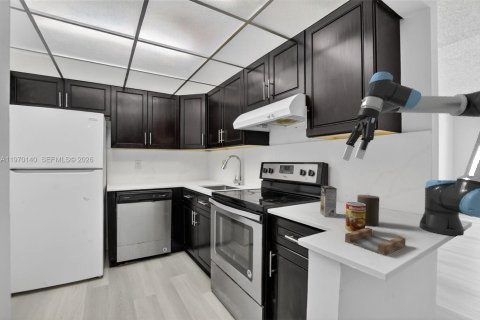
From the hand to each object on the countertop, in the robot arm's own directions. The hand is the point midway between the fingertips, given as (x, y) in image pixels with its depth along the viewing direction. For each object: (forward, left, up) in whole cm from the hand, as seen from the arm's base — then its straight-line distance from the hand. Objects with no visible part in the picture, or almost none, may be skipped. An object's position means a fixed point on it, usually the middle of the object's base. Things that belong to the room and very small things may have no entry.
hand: (351, 159), depth 91 cm
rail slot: (-2, +9, -32) cm, 33 cm away
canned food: (-11, -4, -32) cm, 34 cm away
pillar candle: (-27, -7, -32) cm, 43 cm away
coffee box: (-23, -27, -32) cm, 48 cm away
